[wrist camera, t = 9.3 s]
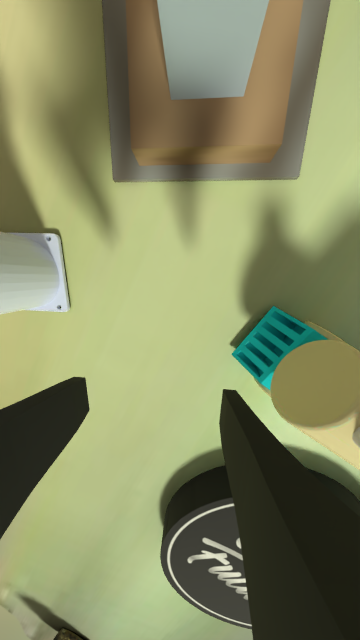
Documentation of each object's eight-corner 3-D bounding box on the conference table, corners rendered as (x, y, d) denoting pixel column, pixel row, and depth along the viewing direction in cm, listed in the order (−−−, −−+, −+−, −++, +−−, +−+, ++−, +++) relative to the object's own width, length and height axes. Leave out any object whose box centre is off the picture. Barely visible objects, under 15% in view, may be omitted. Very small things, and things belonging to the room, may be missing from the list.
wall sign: (118, 552, 24) (296, 452, 17) (128, 516, 28) (279, 421, 21) (254, 649, 28) (452, 600, 20) (248, 605, 31) (413, 550, 24)
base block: (115, 182, 15) (100, 165, 13) (102, -28, 12) (80, -99, 10) (296, 179, 14) (316, 160, 12) (337, -56, 11) (375, -146, 9)
